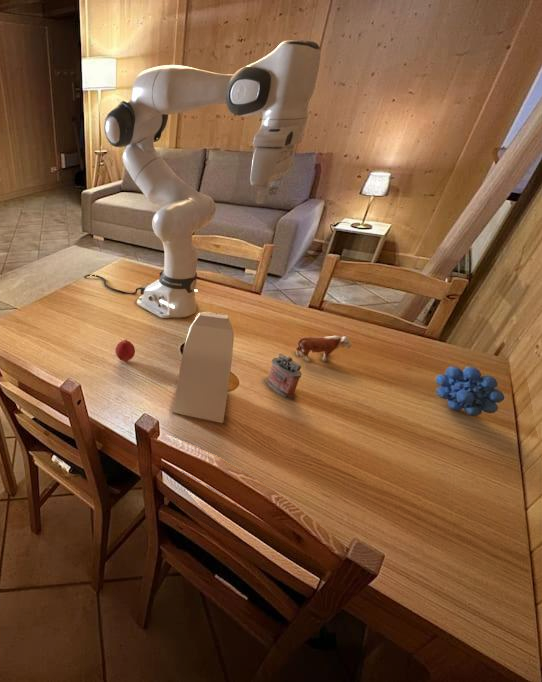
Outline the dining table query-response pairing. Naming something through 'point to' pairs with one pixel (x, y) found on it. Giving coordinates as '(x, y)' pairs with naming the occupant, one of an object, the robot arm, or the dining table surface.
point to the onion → (125, 350)
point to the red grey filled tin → (284, 376)
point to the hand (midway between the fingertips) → (266, 198)
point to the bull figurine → (321, 345)
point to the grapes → (469, 390)
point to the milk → (205, 368)
